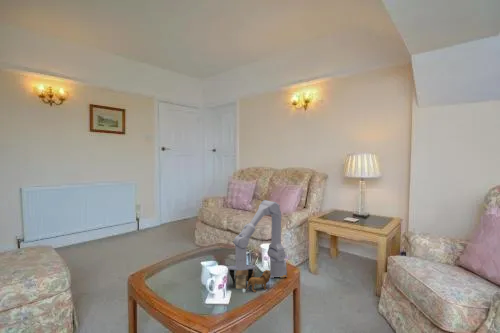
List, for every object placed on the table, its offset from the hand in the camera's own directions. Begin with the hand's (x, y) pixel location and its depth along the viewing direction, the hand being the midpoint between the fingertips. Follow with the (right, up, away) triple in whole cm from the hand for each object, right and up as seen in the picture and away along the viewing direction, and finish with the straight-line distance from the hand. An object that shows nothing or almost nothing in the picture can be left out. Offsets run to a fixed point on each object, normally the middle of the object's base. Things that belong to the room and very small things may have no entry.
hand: (241, 283), depth 139 cm
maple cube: (0, -2, 0) cm, 2 cm away
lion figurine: (+9, -2, -3) cm, 10 cm away
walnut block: (+2, -1, +11) cm, 11 cm away
